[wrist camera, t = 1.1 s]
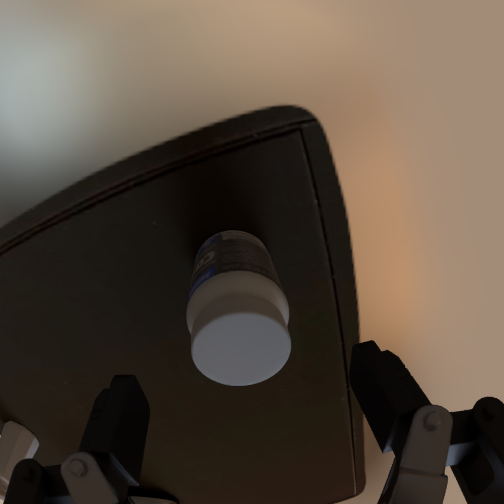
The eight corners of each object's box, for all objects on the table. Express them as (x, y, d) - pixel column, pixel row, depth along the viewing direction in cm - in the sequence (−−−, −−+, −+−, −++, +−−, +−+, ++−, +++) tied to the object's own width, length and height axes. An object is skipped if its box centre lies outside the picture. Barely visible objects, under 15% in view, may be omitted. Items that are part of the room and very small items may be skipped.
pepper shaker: (5, 414, 24) (-24, 478, 14) (41, 436, 25) (17, 504, 15) (5, 429, 25) (-20, 487, 15) (38, 449, 27) (17, 510, 17)
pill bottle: (200, 222, 18) (187, 292, 10) (277, 235, 19) (316, 309, 11) (190, 292, 20) (177, 386, 12) (260, 302, 20) (283, 395, 13)
